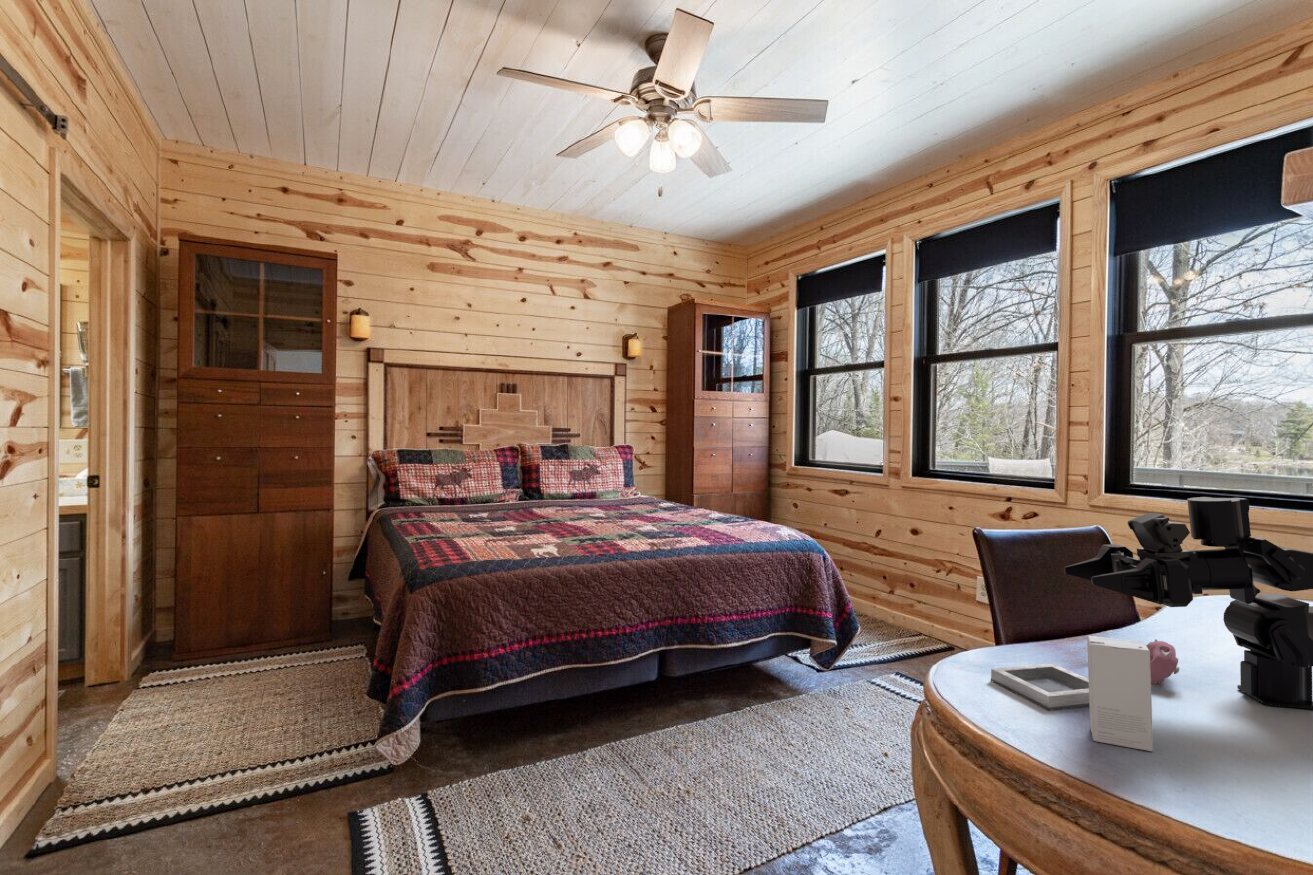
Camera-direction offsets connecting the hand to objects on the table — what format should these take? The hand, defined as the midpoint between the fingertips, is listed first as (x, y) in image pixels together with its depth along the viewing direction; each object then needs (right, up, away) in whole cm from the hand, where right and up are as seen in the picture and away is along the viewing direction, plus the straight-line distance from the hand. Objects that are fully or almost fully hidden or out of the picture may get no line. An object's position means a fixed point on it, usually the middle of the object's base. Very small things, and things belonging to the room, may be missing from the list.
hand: (1077, 575), depth 95 cm
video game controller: (+14, -17, +3) cm, 22 cm away
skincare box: (-6, -17, -17) cm, 25 cm away
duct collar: (-5, -17, -2) cm, 18 cm away
